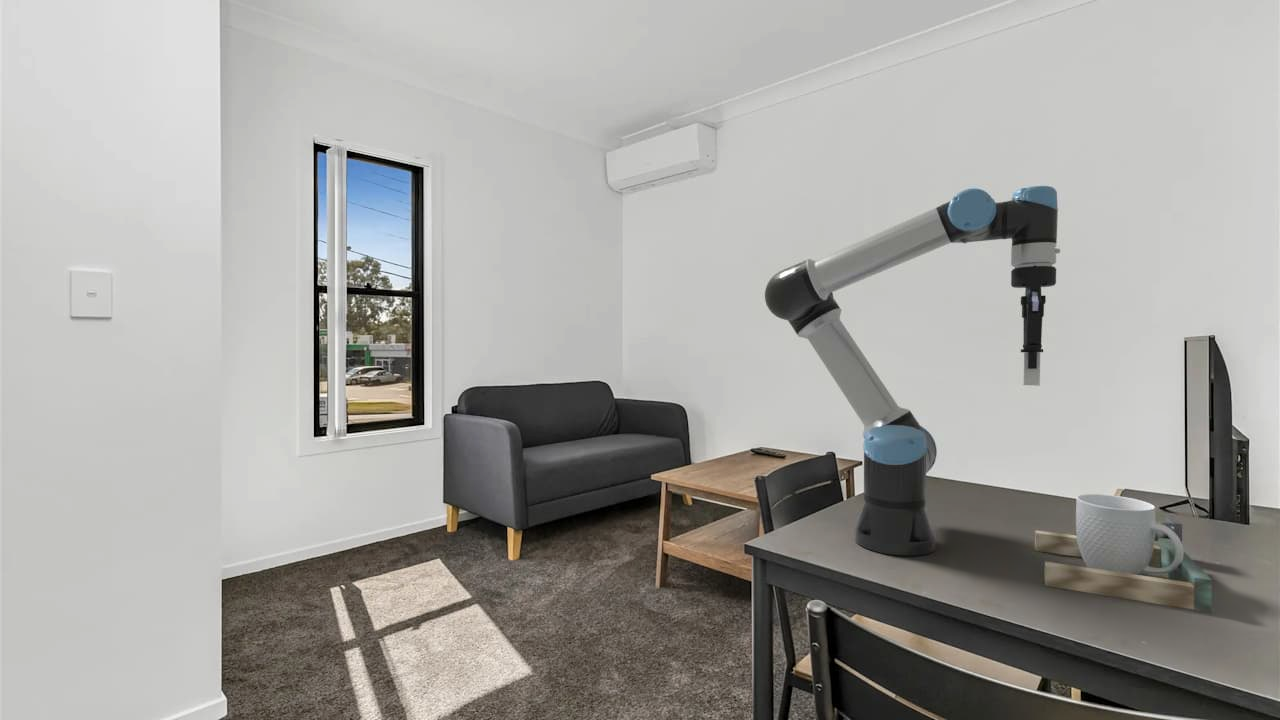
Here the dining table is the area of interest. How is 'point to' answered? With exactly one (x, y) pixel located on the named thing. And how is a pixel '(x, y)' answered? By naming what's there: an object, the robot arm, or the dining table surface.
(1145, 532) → the mug
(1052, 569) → the bay
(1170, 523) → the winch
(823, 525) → the dining table surface
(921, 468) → the robot arm
